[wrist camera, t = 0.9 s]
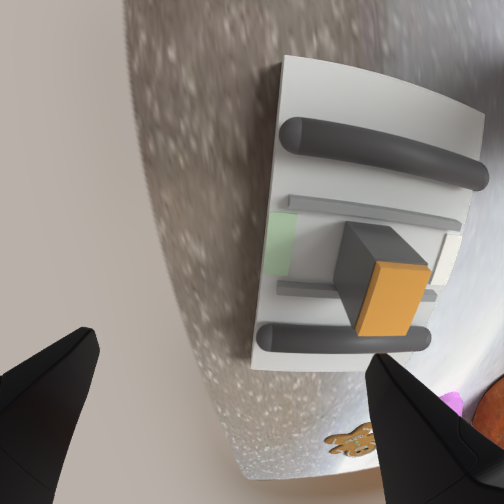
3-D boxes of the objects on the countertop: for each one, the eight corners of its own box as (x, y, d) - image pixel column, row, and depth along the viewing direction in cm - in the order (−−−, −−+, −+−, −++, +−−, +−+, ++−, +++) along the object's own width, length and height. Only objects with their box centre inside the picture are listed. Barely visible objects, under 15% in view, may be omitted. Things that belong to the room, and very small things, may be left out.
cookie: (378, 421, 29) (391, 445, 32) (377, 415, 30) (390, 440, 33) (317, 444, 31) (340, 464, 34) (316, 438, 32) (339, 459, 35)
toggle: (390, 226, 17) (433, 269, 12) (374, 282, 18) (406, 336, 13) (345, 220, 17) (379, 265, 12) (332, 279, 18) (355, 337, 13)
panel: (468, 112, 15) (503, 116, 12) (397, 353, 25) (411, 383, 21) (281, 61, 15) (288, 46, 11) (251, 352, 24) (250, 388, 21)
